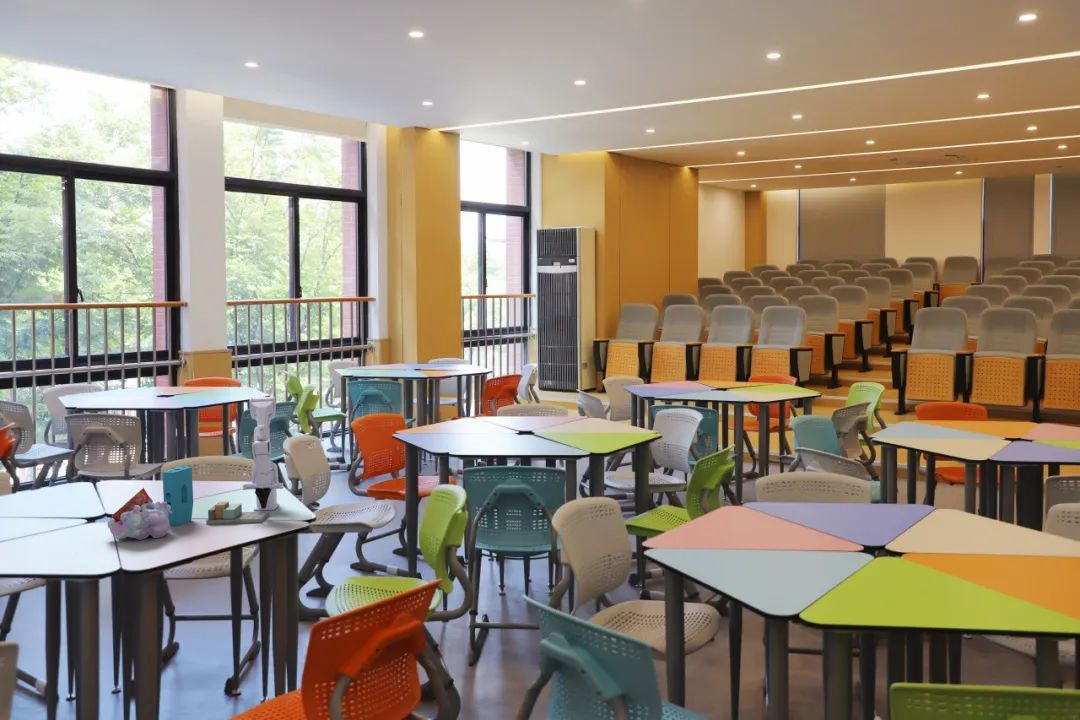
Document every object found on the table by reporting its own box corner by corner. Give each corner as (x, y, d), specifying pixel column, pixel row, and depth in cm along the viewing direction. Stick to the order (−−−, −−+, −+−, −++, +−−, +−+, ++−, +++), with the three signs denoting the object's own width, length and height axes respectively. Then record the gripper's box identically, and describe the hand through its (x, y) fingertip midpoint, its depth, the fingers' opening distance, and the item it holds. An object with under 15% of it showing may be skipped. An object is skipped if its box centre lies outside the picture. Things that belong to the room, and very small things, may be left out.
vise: (216, 516, 352) (215, 503, 352) (269, 515, 353) (268, 502, 353) (206, 524, 341) (205, 511, 340) (261, 522, 342) (260, 509, 341)
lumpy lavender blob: (154, 532, 310) (165, 482, 319) (90, 531, 310) (102, 481, 318) (174, 549, 328) (184, 501, 337) (113, 548, 328) (124, 500, 336)
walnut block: (220, 514, 349) (219, 501, 349) (229, 514, 349) (228, 501, 349) (215, 518, 343) (214, 505, 343) (224, 518, 343) (224, 504, 343)
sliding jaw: (231, 512, 352) (230, 503, 351) (241, 512, 352) (241, 503, 352) (223, 518, 342) (223, 509, 341) (234, 518, 342) (234, 509, 342)
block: (175, 526, 338) (173, 472, 336) (163, 526, 339) (161, 472, 337) (195, 519, 349) (192, 466, 348) (183, 518, 350) (181, 466, 349)
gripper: (240, 474, 343) (241, 511, 344) (279, 474, 343) (280, 510, 344) (245, 471, 350) (246, 506, 351) (283, 470, 350) (285, 505, 351)
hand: (263, 508), depth 348 cm, fingers closed
